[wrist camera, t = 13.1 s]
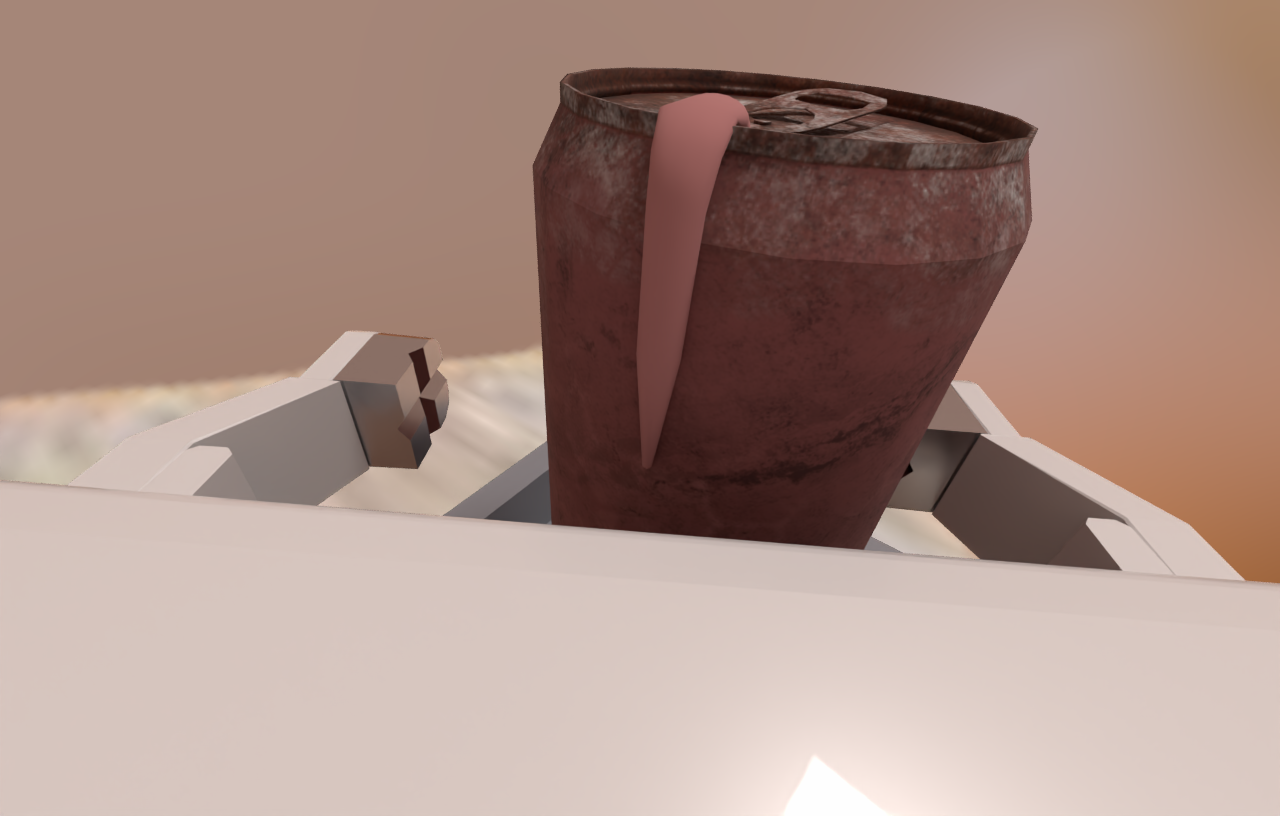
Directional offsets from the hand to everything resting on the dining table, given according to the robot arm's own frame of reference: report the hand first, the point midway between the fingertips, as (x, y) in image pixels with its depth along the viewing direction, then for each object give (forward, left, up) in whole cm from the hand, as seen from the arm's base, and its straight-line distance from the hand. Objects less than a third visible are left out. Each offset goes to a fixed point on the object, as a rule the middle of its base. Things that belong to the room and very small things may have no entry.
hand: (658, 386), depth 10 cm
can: (+1, 0, -9) cm, 9 cm away
